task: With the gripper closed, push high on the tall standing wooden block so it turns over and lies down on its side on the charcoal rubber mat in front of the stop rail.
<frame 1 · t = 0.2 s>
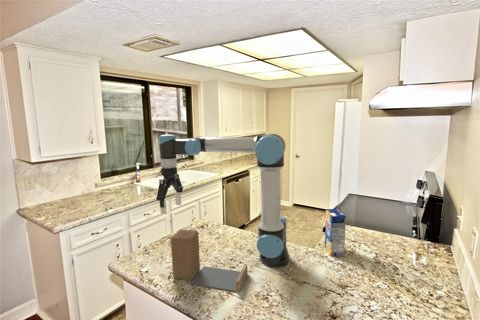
hand: (171, 208, 130), 28 cm above the worktop, fingers open, 13 cm apart
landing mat: (218, 278, 119), on the worktop
wooden block: (187, 274, 124), on the worktop
beverage box: (333, 251, 142), on the worktop
stop rail: (242, 282, 116), on the worktop
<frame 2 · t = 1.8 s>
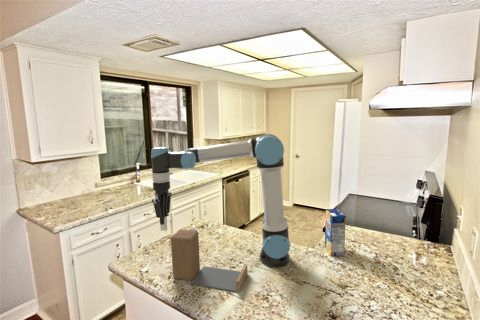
hand: (164, 229, 124), 21 cm above the worktop, fingers closed
nothing on the worktop moved.
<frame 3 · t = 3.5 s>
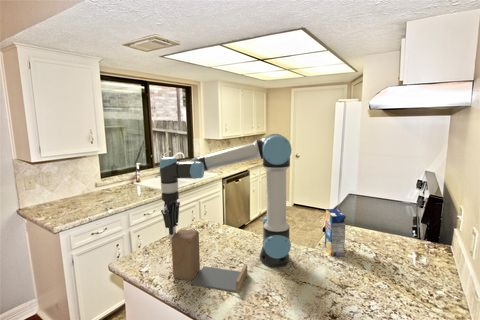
hand: (173, 239, 123), 16 cm above the worktop, fingers closed
wooden block: (186, 274, 124), on the worktop, touching gripper
everything else where it was.
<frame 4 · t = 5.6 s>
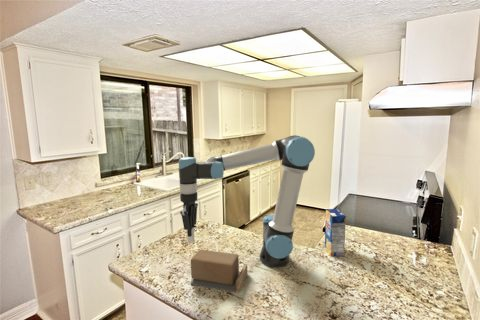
hand: (191, 241, 120), 16 cm above the worktop, fingers closed
wooden block: (194, 263, 122), point 6 cm above the worktop, touching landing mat
everything else where it was.
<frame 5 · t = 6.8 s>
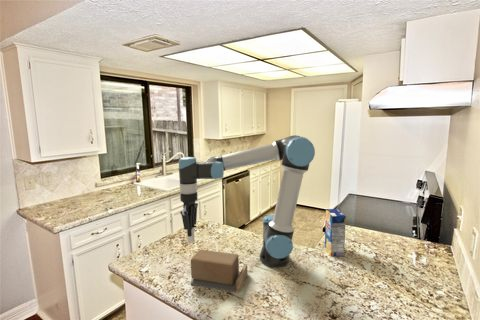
hand: (191, 241, 120), 16 cm above the worktop, fingers closed
nothing on the worktop moved.
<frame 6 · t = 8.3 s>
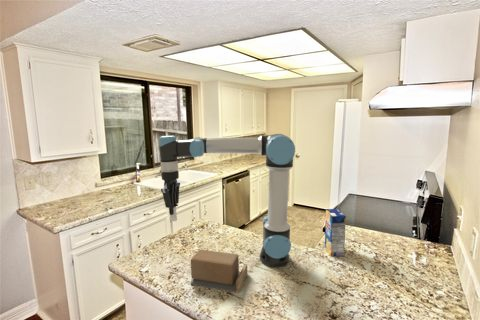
hand: (173, 220, 121), 26 cm above the worktop, fingers closed
nothing on the worktop moved.
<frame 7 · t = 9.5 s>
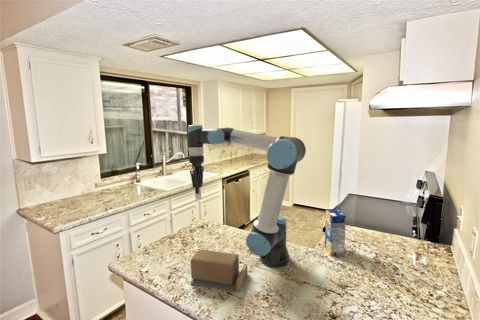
hand: (198, 199, 139), 30 cm above the worktop, fingers closed
nothing on the worktop moved.
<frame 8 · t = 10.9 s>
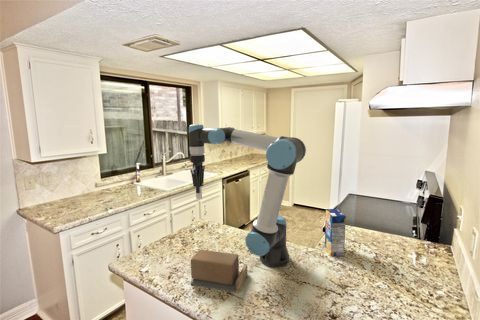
hand: (199, 198, 140), 30 cm above the worktop, fingers closed
nothing on the worktop moved.
at the end: wooden block tilted 90°; wooden block inside the target area (9.9 cm from its centre), point 5.6 cm above the worktop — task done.
